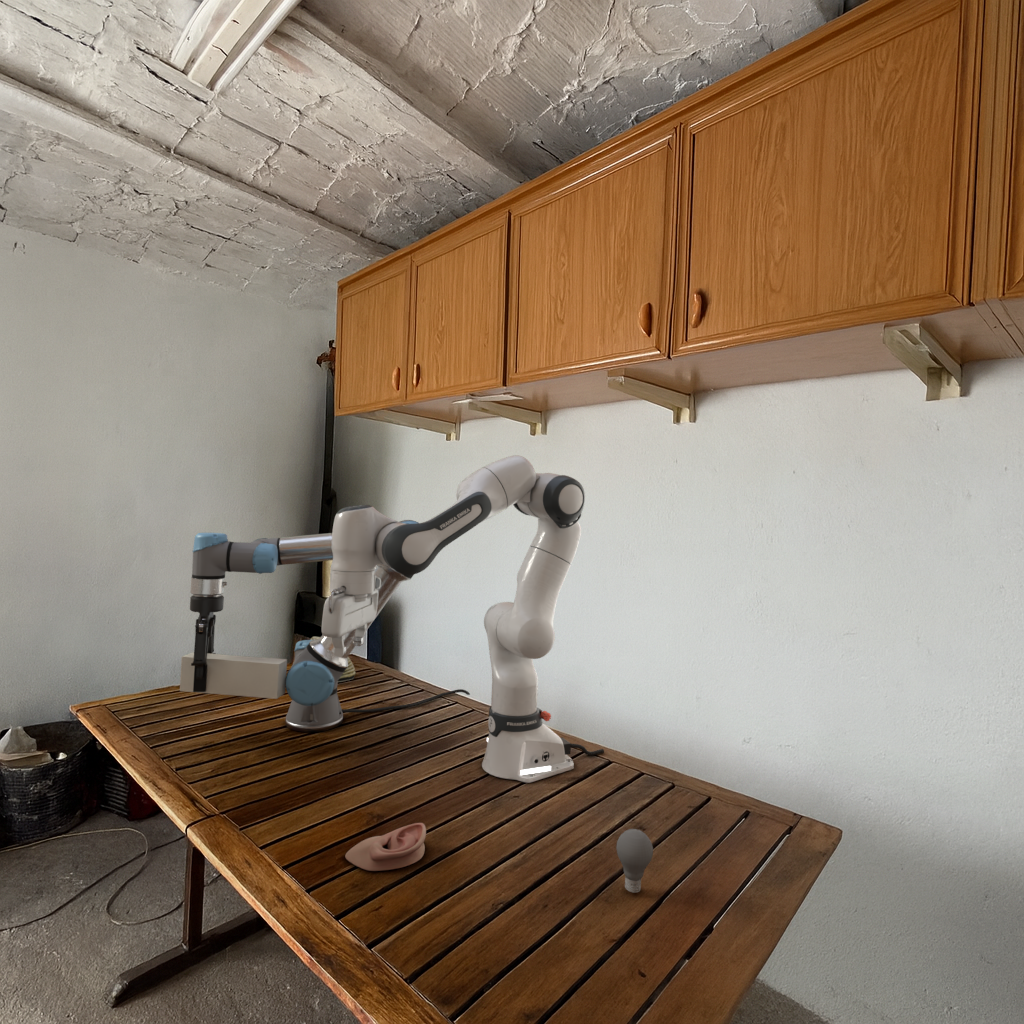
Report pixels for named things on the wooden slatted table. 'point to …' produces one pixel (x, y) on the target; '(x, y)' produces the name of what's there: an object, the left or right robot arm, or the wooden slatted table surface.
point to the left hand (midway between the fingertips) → (202, 687)
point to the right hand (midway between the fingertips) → (349, 650)
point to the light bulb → (634, 857)
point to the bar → (238, 675)
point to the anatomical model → (390, 849)
